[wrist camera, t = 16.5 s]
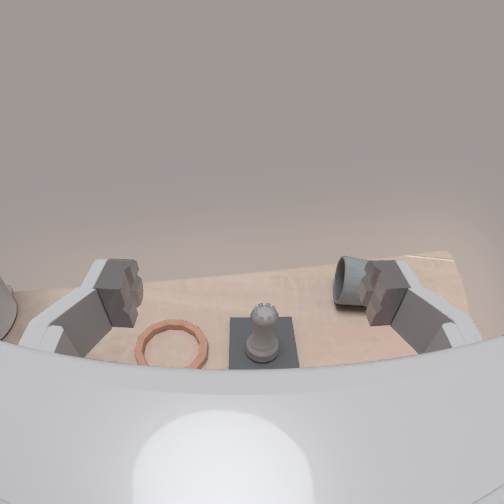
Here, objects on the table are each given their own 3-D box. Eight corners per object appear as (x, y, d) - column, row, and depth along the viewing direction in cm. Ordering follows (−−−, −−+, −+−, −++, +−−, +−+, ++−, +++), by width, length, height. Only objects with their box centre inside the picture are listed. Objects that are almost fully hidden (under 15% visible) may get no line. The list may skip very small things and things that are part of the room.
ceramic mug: (382, 316, 44) (397, 279, 40) (334, 313, 45) (345, 275, 41) (371, 275, 53) (382, 240, 49) (329, 272, 54) (337, 236, 49)
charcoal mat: (228, 391, 34) (228, 388, 34) (230, 320, 44) (230, 317, 44) (301, 388, 35) (302, 386, 34) (290, 319, 44) (291, 316, 44)
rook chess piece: (249, 367, 37) (250, 328, 32) (242, 340, 40) (241, 299, 35) (282, 360, 37) (289, 321, 33) (273, 335, 41) (278, 294, 36)
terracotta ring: (130, 378, 35) (128, 374, 34) (144, 322, 43) (143, 318, 42) (205, 383, 35) (204, 380, 34) (209, 325, 43) (209, 320, 42)
